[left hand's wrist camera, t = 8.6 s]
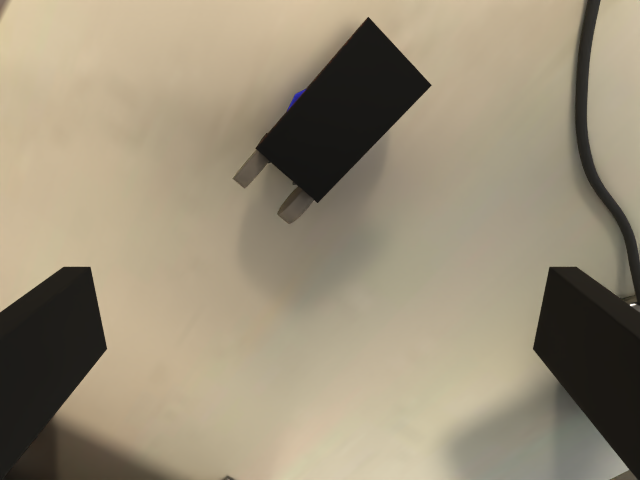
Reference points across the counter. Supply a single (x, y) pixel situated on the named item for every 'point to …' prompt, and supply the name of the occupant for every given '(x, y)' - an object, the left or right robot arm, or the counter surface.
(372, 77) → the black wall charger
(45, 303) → the left robot arm
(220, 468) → the counter surface
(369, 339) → the counter surface
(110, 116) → the counter surface
